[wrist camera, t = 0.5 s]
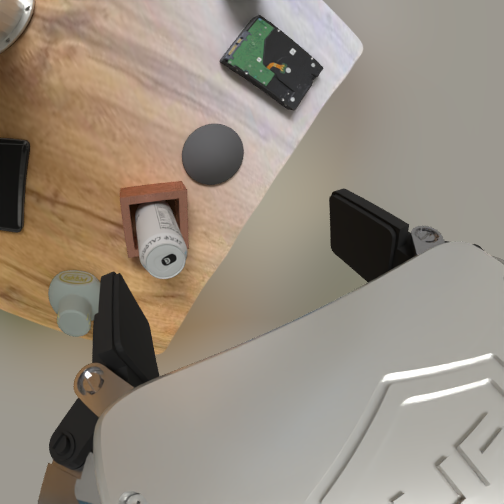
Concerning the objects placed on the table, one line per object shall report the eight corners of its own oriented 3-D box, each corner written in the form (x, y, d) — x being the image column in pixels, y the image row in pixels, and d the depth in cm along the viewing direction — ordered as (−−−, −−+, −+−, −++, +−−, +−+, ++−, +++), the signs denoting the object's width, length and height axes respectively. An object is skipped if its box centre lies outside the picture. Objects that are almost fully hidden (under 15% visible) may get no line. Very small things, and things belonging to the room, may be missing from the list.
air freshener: (53, 302, 43) (46, 340, 35) (49, 265, 39) (39, 302, 31) (105, 306, 48) (106, 344, 40) (106, 270, 45) (105, 307, 37)
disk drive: (315, 67, 41) (251, 17, 32) (324, 66, 39) (259, 13, 30) (286, 110, 44) (217, 62, 35) (295, 111, 42) (223, 61, 33)
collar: (127, 243, 44) (128, 257, 41) (120, 188, 39) (119, 197, 36) (183, 235, 48) (188, 248, 44) (181, 181, 43) (186, 189, 39)
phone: (29, 141, 28) (22, 233, 34) (32, 140, 29) (24, 230, 35) (-10, 138, 24) (-14, 228, 30) (-7, 136, 25) (-12, 225, 30)
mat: (182, 186, 43) (182, 187, 43) (182, 124, 38) (182, 124, 38) (240, 181, 47) (241, 182, 47) (244, 123, 42) (245, 124, 41)
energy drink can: (128, 207, 41) (130, 255, 29) (161, 188, 42) (176, 229, 30) (145, 236, 45) (156, 290, 33) (177, 218, 46) (198, 267, 34)
